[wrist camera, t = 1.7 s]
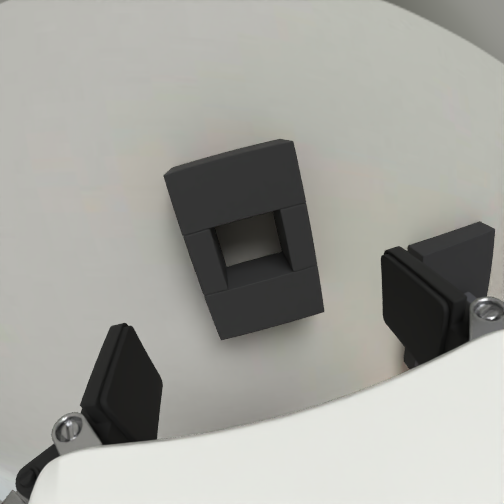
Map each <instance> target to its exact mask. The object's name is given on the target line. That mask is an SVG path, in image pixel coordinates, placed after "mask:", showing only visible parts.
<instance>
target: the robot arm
mask: <svg viewBox="0 0 504 504" xmlns="http://www.w3.org/2000/svg"><path fill="white" fill-rule="evenodd" d="M381 271H382V298H383V318H384V321H385V323H386V324H387V325H388V327H389V328H390V329H391V330H392V332H393V333H394V334H395V335H396V336H397V338H398V339H399V340H400V341H401V343H402V344H403V345H404V346H405V348H406V349H407V350H408V351H409V353H410V354H411V355H412V356H413V358H414V359H415V360H416V361H417V363H418V364H419V366H417V367H415V368H412V369H410V370H408V371H406V372H403V373H401V374H399V375H397V376H394V377H392V378H390V379H387V380H385V381H382V382H380V383H377V384H375V385H372V386H370V387H367V388H365V389H362V390H359V391H357V392H354V393H351V394H348V395H345V396H343V397H340V398H337V399H334V400H331V401H328V402H325V403H322V404H319V405H316V406H312V407H309V408H306V409H303V410H299V411H296V412H292V413H289V414H285V415H282V416H278V417H274V418H270V419H266V420H262V421H258V422H254V423H250V424H245V425H241V426H236V427H231V428H227V429H222V430H216V431H211V432H206V433H200V434H194V435H187V436H181V437H173V438H166V439H158V440H157V432H158V422H159V413H160V404H161V396H162V387H163V384H162V379H161V377H160V375H159V373H158V372H157V370H156V368H155V367H154V365H153V363H152V361H151V360H150V358H149V356H148V354H147V352H146V351H145V349H144V347H143V345H142V343H141V341H140V340H139V338H138V336H137V334H136V332H135V330H134V328H133V327H132V326H128V325H127V324H126V323H122V324H118V325H114V326H111V327H110V329H109V332H108V334H107V336H106V339H105V341H104V343H103V346H102V348H101V351H100V353H99V356H98V358H97V361H96V363H95V366H94V368H93V371H92V374H91V376H90V379H89V382H88V384H87V387H86V390H85V393H84V395H83V398H82V401H81V404H80V406H81V407H82V411H81V413H78V412H72V413H68V414H66V415H64V416H62V417H61V418H60V419H59V420H58V421H57V422H56V423H55V425H54V427H53V429H52V434H51V436H52V440H53V442H54V444H53V445H52V446H50V447H49V448H48V449H46V450H45V451H44V452H42V453H41V454H40V455H38V456H37V457H36V458H35V459H33V460H32V461H31V462H29V463H28V464H27V465H25V466H24V467H23V468H22V469H21V470H20V471H19V473H18V474H17V477H16V489H17V491H16V492H15V491H14V490H12V491H11V492H10V494H9V495H8V496H7V497H6V499H5V500H4V501H3V502H2V504H504V302H502V301H501V300H499V299H497V298H494V297H480V298H477V299H476V300H474V301H473V302H472V303H469V302H468V301H467V296H466V295H465V294H464V293H463V292H461V291H460V290H459V289H457V288H456V287H455V286H454V285H452V284H451V283H450V282H448V281H447V280H446V279H444V278H443V277H442V276H440V275H439V274H438V273H436V272H435V271H434V270H432V269H431V268H430V267H428V266H427V265H425V264H424V263H423V262H421V261H420V260H419V259H417V258H416V257H414V256H413V255H412V254H410V253H409V252H407V251H406V250H404V249H403V248H402V247H400V246H398V247H394V248H391V249H388V250H386V251H385V252H384V255H382V256H381Z"/></svg>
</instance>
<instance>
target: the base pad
mask: <svg viewBox="0 0 504 504" xmlns="http://www.w3.org/2000/svg"><path fill="white" fill-rule="evenodd" d="M494 237H495V229H494V228H492V227H490V226H488V225H486V224H484V223H482V222H477V223H474V224H471V225H468V226H466V227H463V228H460V229H457V230H454V231H451V232H448V233H445V234H442V235H439V236H436V237H433V238H430V239H427V240H424V241H421V242H418V243H415V244H412V245H409V253H410V254H412V255H413V256H414V257H416V258H417V259H419V260H420V261H421V262H423V263H424V264H425V265H427V266H428V267H430V268H431V269H432V270H434V271H435V272H436V273H438V274H439V275H440V276H442V277H443V278H444V279H446V280H447V281H448V282H450V283H451V284H452V285H454V286H455V287H456V288H457V289H459V290H460V291H461V292H463V293H464V294H465V295H466V296H467V301H468V302H469V303H472V302H473V301H474V300H476V299H477V298H480V297H487V292H488V286H489V280H490V273H491V266H492V257H493V248H494ZM404 362H405V364H406V365H407V366H408V368H409V369H412V368H415V367H417V366H419V364H418V363H417V361H416V360H415V359H414V358H413V356H412V355H411V354H410V353H409V351H408V350H407V349H406V348H405V355H404Z"/></svg>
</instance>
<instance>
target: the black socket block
mask: <svg viewBox="0 0 504 504" xmlns="http://www.w3.org/2000/svg"><path fill="white" fill-rule="evenodd" d="M164 179H165V182H166V186H167V189H168V192H169V195H170V198H171V201H172V205H173V208H174V211H175V214H176V217H177V220H178V223H179V226H180V229H181V232H182V235H183V236H184V240H185V243H186V246H187V249H188V252H189V255H190V258H191V261H192V264H193V266H194V269H195V272H196V275H197V278H198V280H199V283H200V286H201V289H202V291H203V294H204V297H205V300H206V303H207V305H208V308H209V311H210V313H211V316H212V319H213V321H214V324H215V326H216V329H217V332H218V334H219V337H220V339H221V340H224V339H228V338H232V337H236V336H240V335H244V334H248V333H252V332H256V331H259V330H263V329H267V328H270V327H274V326H278V325H281V324H285V323H288V322H292V321H295V320H299V319H302V318H306V317H309V316H312V315H316V314H319V313H322V312H324V305H323V299H322V292H321V285H320V279H319V273H318V267H317V261H316V255H315V249H314V243H313V238H312V232H311V227H310V221H309V216H308V211H307V205H306V200H305V195H304V190H303V185H302V180H301V175H300V170H299V166H298V161H297V156H296V152H295V147H294V143H293V141H289V140H283V139H278V140H273V141H269V142H265V143H260V144H256V145H252V146H248V147H244V148H240V149H236V150H232V151H229V152H225V153H221V154H217V155H214V156H210V157H207V158H203V159H200V160H196V161H193V162H189V163H186V164H183V165H179V166H176V167H173V168H171V169H170V170H169V171H168V172H167V173H166V174H165V175H164ZM272 211H273V213H274V217H275V222H276V226H277V230H278V235H279V239H280V244H281V248H282V252H280V253H276V254H273V255H269V256H265V257H262V258H258V259H254V260H251V261H247V262H243V263H240V264H236V265H232V266H229V267H226V264H225V261H224V258H223V254H222V251H221V248H220V245H219V241H218V238H217V235H216V231H215V228H214V227H216V226H220V225H223V224H227V223H231V222H234V221H238V220H242V219H245V218H249V217H253V216H256V215H260V214H264V213H268V212H272Z"/></svg>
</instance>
